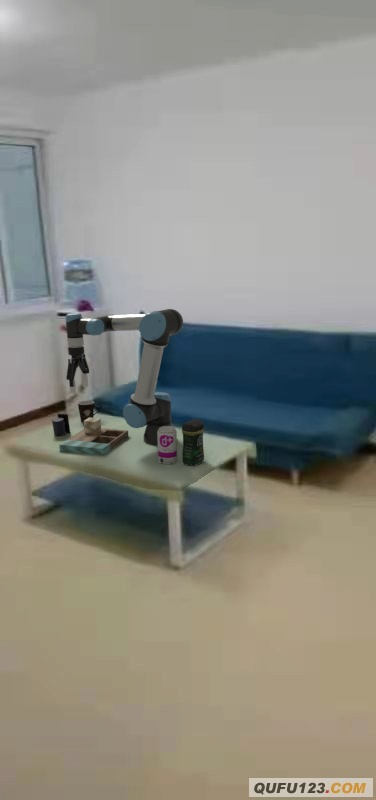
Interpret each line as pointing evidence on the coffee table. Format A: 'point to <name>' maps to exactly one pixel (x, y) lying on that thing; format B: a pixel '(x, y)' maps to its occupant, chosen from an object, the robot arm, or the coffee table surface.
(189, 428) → the coffee jar
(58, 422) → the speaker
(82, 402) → the coffee mug
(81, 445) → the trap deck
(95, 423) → the birch block
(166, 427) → the supplement can
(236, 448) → the coffee table surface
